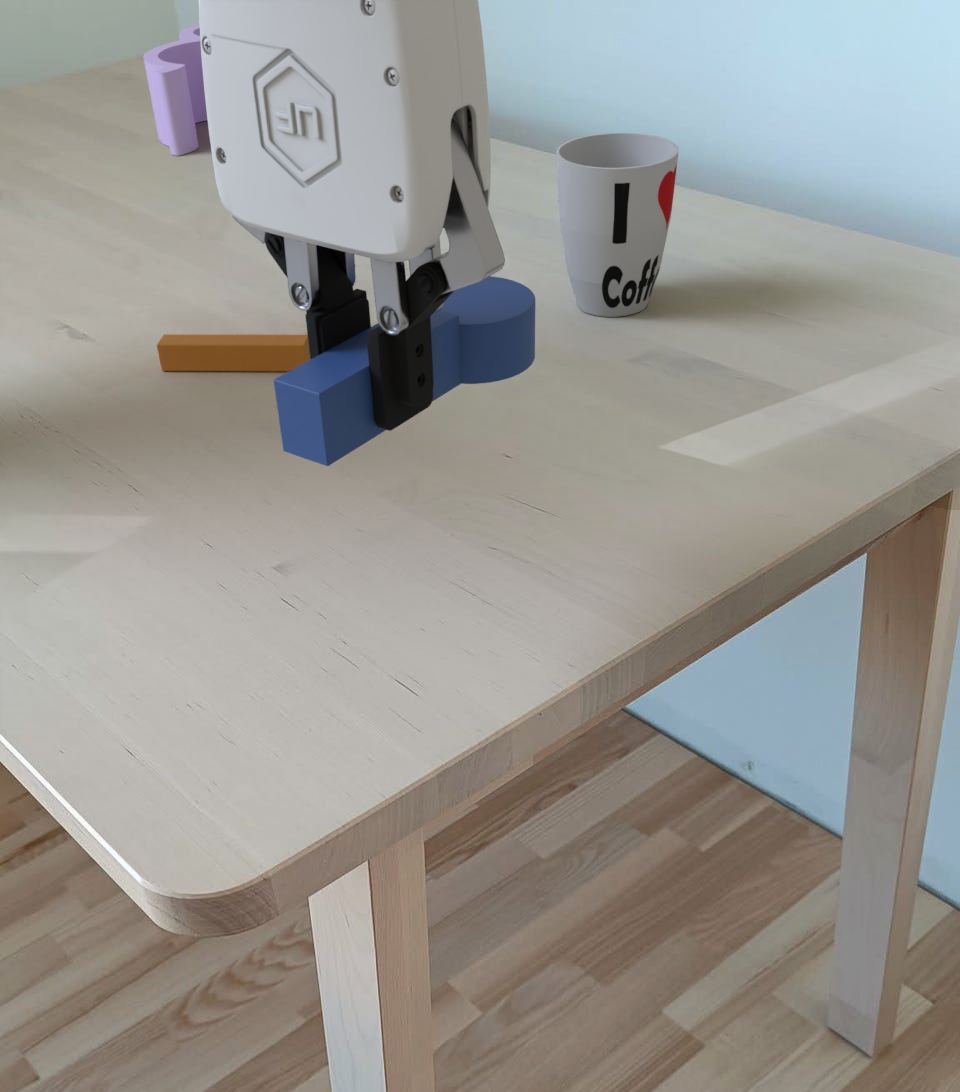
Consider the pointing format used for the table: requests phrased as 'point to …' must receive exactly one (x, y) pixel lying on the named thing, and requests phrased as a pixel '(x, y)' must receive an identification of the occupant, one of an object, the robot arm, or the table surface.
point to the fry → (232, 352)
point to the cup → (615, 217)
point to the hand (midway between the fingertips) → (374, 403)
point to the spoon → (458, 358)
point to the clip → (177, 90)
